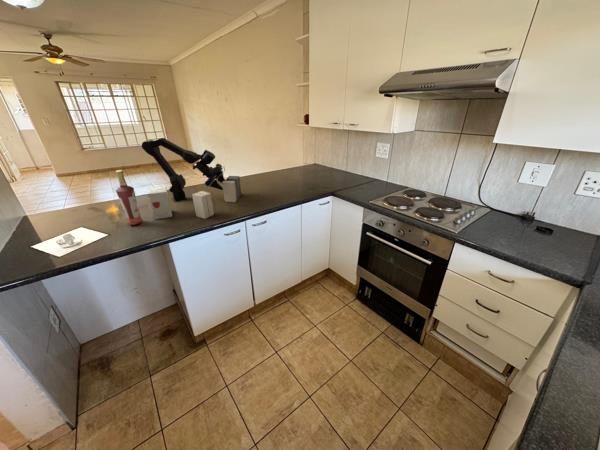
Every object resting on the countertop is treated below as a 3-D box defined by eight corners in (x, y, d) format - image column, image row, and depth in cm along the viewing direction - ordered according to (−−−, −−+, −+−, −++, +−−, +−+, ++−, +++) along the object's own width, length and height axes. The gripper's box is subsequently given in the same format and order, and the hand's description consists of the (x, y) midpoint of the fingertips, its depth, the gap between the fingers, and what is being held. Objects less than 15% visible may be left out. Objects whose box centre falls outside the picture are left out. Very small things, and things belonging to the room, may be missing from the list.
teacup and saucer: (53, 245, 108) (49, 237, 107) (73, 237, 115) (70, 229, 113) (66, 249, 106) (62, 241, 104) (86, 240, 112) (82, 233, 111)
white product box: (154, 220, 133) (147, 193, 126) (154, 213, 140) (147, 188, 133) (172, 216, 137) (166, 191, 130) (172, 211, 144) (166, 186, 137)
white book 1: (205, 218, 135) (201, 196, 129) (196, 216, 138) (191, 194, 132) (209, 216, 138) (205, 195, 132) (200, 214, 141) (196, 192, 135)
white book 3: (235, 202, 158) (233, 182, 152) (224, 201, 158) (222, 182, 152) (236, 200, 161) (234, 181, 155) (226, 200, 161) (223, 180, 155)
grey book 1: (238, 197, 165) (236, 178, 159) (228, 197, 165) (226, 178, 159) (239, 196, 168) (238, 177, 162) (229, 195, 168) (227, 177, 162)
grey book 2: (240, 195, 168) (238, 177, 162) (230, 195, 169) (227, 177, 163) (241, 194, 171) (239, 176, 165) (231, 194, 171) (229, 175, 165)
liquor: (141, 225, 127) (125, 172, 114) (125, 227, 125) (106, 173, 112) (145, 219, 133) (130, 168, 120) (130, 221, 131) (112, 169, 118)
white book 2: (210, 216, 138) (206, 194, 132) (200, 213, 141) (197, 192, 135) (213, 214, 141) (210, 193, 135) (205, 212, 143) (201, 190, 137)
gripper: (207, 164, 140) (228, 183, 144) (218, 157, 156) (237, 174, 161) (195, 177, 143) (217, 195, 148) (208, 169, 160) (226, 185, 165)
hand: (225, 187), depth 155 cm, fingers open, 9 cm apart
